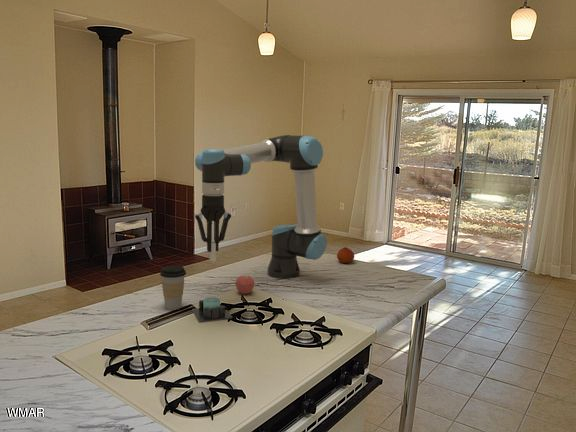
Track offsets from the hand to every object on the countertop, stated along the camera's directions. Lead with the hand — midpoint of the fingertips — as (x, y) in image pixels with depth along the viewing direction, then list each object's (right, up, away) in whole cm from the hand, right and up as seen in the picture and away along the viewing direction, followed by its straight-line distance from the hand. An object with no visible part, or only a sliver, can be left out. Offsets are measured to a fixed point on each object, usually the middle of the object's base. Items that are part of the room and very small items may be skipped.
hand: (212, 260), depth 169 cm
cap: (-1, -19, +3) cm, 20 cm away
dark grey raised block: (-1, -20, +4) cm, 20 cm away
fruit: (+56, -9, +77) cm, 96 cm away
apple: (+9, -16, +27) cm, 33 cm away
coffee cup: (-16, -19, +9) cm, 26 cm away
